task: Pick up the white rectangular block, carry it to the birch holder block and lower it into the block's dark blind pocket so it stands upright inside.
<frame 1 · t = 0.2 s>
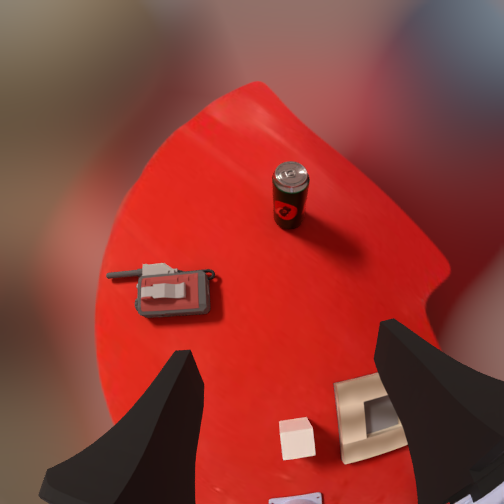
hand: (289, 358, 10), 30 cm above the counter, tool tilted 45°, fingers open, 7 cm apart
soda can: (288, 218, 46), on the counter
white rectangular block: (294, 431, 33), on the counter
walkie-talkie: (158, 292, 44), on the counter
holder block: (378, 412, 33), on the counter
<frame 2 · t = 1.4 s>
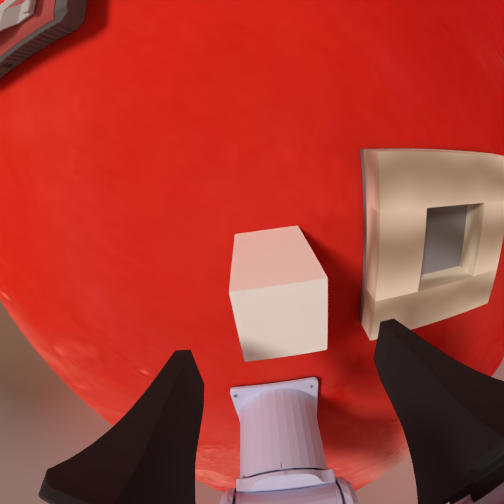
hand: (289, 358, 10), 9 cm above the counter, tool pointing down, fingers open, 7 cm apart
white rectangular block: (270, 258, 18), on the counter
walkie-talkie: (14, 37, 10), on the counter
holder block: (435, 234, 18), on the counter
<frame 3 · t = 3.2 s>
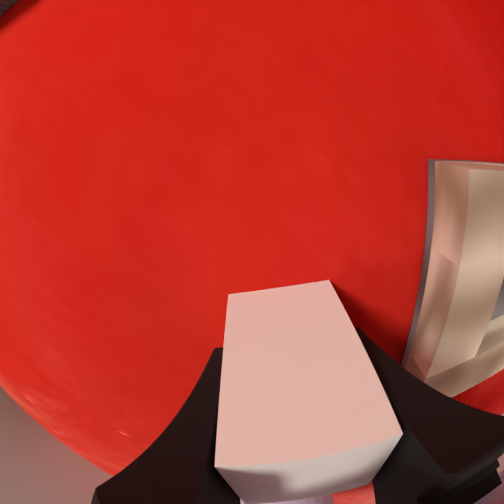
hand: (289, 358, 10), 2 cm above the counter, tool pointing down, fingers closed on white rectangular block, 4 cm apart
white rectangular block: (283, 327, 11), on the counter, touching gripper
holder block: (497, 276, 11), on the counter
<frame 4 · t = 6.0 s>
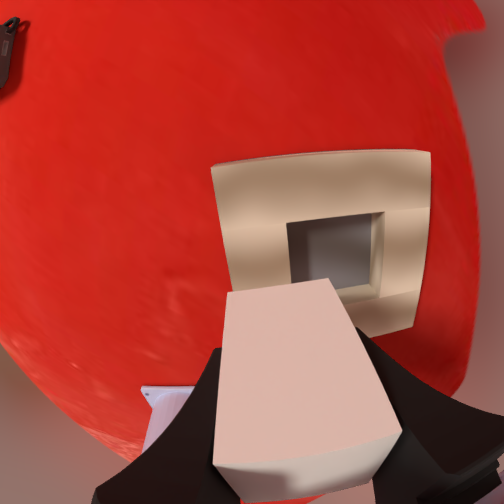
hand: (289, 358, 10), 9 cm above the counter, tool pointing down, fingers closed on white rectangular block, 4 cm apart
white rectangular block: (282, 325, 11), point 7 cm above the counter, touching gripper
holder block: (328, 248, 18), on the counter
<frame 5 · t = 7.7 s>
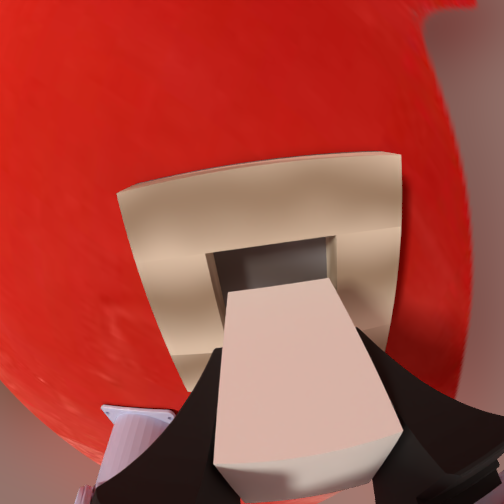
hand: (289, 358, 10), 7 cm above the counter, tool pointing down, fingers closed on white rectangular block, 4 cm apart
white rectangular block: (283, 325, 11), point 5 cm above the counter, touching gripper
holder block: (273, 276, 16), on the counter
when the fingers open (4 cm above the counter, at t = 9.1 s): white rectangular block drops 1 cm, resting on holder block.
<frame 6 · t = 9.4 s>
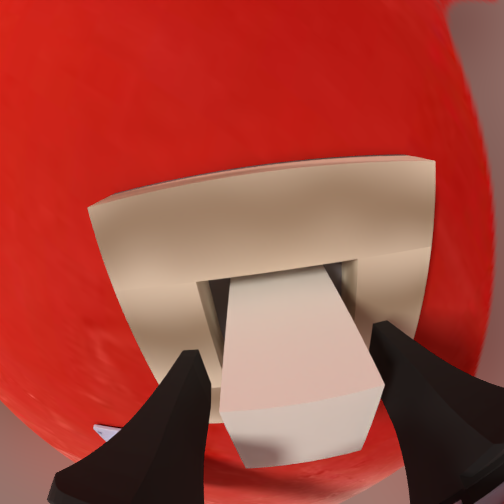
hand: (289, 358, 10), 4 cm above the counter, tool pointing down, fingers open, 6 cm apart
white rectangular block: (280, 306, 13), resting on holder block
holder block: (278, 302, 13), on the counter
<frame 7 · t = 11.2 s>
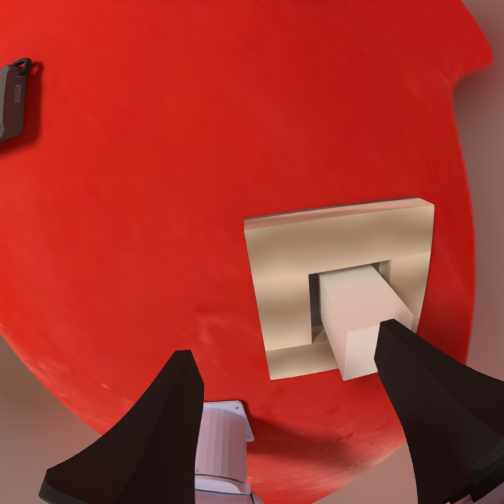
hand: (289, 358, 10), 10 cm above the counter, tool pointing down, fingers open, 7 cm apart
white rectangular block: (343, 289, 20), resting on holder block
holder block: (341, 286, 21), on the counter
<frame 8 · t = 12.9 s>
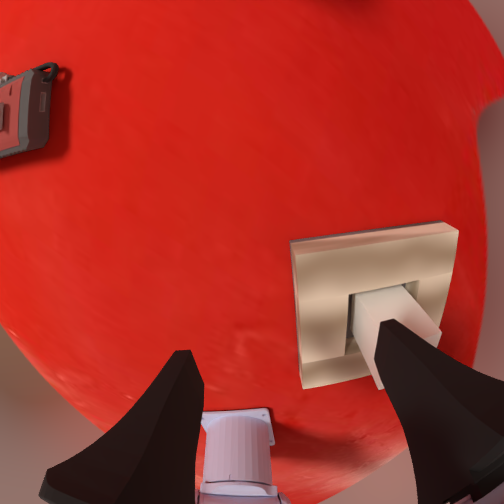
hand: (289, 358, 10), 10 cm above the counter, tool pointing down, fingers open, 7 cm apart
white rectangular block: (373, 305, 21), resting on holder block
holder block: (370, 302, 21), on the counter
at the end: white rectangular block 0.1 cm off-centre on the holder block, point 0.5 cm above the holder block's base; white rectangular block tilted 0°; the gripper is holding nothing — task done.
